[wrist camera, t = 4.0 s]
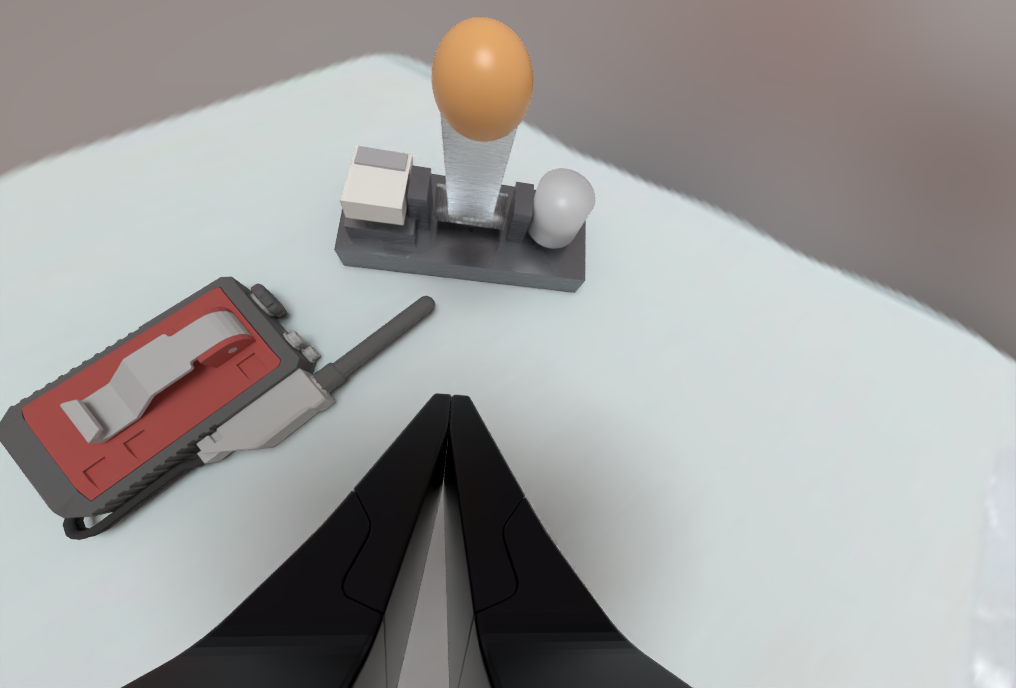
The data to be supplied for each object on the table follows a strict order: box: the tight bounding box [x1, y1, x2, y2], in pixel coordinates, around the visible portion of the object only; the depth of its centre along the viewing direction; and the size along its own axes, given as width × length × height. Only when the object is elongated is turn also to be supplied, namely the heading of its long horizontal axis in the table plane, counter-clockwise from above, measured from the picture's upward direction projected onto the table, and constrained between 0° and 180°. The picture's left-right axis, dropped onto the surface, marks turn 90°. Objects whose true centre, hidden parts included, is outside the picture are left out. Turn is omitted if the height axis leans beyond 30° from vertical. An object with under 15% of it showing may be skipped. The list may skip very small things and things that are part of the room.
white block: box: [340, 145, 413, 225], centre depth 20 cm, size 4×3×1 cm
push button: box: [527, 169, 595, 249], centre depth 21 cm, size 3×3×3 cm
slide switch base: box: [334, 165, 586, 292], centre depth 22 cm, size 6×15×5 cm, turn 86°
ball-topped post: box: [432, 17, 533, 230], centre depth 16 cm, size 3×4×13 cm
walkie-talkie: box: [0, 277, 435, 540], centre depth 19 cm, size 9×4×20 cm
